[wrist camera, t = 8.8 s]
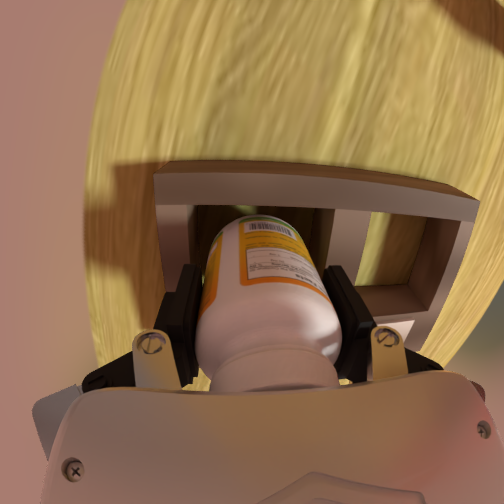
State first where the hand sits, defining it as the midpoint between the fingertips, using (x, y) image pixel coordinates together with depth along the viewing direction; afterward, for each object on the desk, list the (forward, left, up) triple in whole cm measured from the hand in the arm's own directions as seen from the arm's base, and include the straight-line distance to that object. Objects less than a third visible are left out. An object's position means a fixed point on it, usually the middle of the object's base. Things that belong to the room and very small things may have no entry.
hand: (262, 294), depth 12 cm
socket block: (+1, +5, -6) cm, 7 cm away
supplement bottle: (0, 0, -4) cm, 4 cm away
